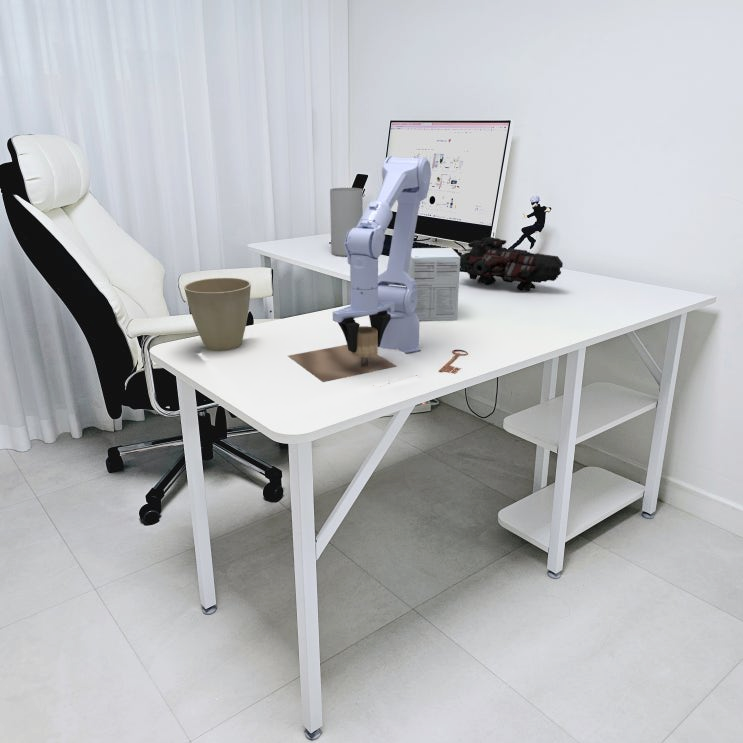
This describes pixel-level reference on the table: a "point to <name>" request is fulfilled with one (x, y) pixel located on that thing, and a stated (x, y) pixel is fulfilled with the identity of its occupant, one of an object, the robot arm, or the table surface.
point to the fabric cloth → (338, 363)
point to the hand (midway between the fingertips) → (364, 348)
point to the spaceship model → (508, 264)
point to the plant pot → (219, 310)
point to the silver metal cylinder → (364, 361)
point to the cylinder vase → (344, 216)
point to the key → (452, 362)
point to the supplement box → (435, 282)
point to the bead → (367, 342)
